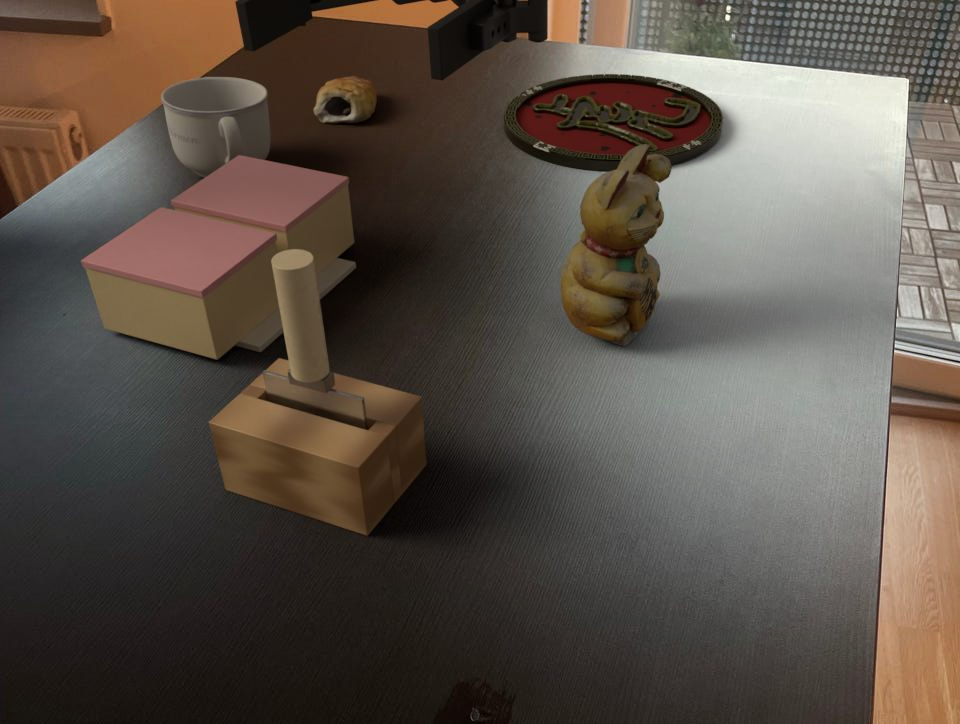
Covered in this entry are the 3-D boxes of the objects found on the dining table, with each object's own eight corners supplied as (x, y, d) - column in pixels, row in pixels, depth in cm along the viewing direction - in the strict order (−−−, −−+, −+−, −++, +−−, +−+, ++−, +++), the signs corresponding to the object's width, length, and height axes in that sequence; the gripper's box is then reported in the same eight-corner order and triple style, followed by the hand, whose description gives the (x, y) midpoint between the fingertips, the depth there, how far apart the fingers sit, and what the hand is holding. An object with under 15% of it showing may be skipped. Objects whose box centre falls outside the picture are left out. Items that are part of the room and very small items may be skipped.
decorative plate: (682, 176, 106) (466, 136, 114) (681, 187, 107) (466, 147, 115) (750, 92, 122) (555, 62, 129) (748, 102, 122) (555, 72, 130)
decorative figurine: (631, 364, 85) (650, 183, 74) (539, 343, 88) (544, 164, 77) (667, 308, 91) (690, 132, 80) (580, 290, 94) (590, 116, 82)
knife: (272, 473, 76) (226, 255, 64) (291, 453, 78) (250, 237, 65) (365, 502, 74) (337, 282, 61) (383, 481, 76) (359, 262, 63)
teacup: (179, 153, 115) (161, 76, 109) (276, 144, 117) (264, 67, 111) (177, 208, 106) (158, 127, 100) (283, 198, 107) (270, 117, 101)
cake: (87, 330, 90) (62, 255, 85) (236, 221, 104) (222, 151, 99) (238, 372, 85) (221, 296, 80) (373, 252, 99) (366, 180, 94)
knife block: (225, 490, 75) (207, 422, 71) (291, 424, 80) (278, 357, 76) (367, 536, 71) (358, 467, 67) (427, 464, 77) (422, 396, 72)
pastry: (336, 93, 126) (333, 59, 124) (389, 97, 125) (387, 63, 123) (312, 124, 120) (307, 88, 118) (367, 128, 119) (364, 93, 116)
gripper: (660, 20, 72) (524, 137, 60) (360, -16, 81) (188, 79, 68) (669, -110, 67) (522, -11, 54) (346, -133, 75) (157, -53, 63)
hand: (335, 40), depth 61 cm, fingers open, 13 cm apart
